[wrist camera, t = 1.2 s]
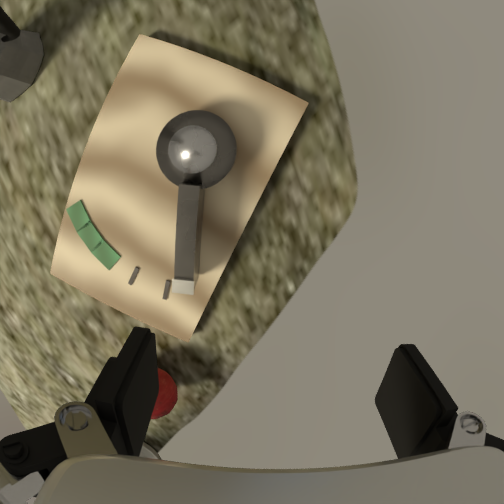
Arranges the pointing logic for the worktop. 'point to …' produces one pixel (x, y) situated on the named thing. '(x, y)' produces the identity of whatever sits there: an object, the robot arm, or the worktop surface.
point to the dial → (193, 181)
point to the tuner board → (165, 183)
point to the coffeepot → (17, 58)
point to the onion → (165, 395)
